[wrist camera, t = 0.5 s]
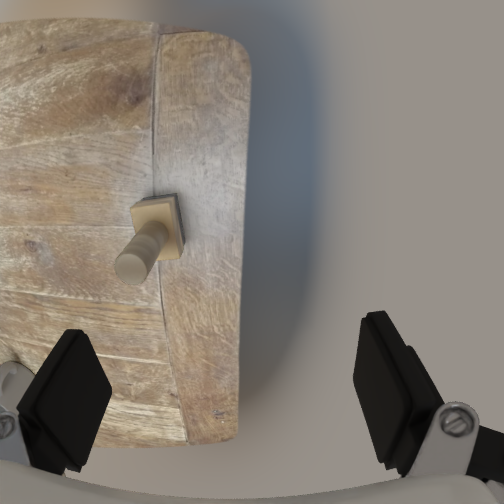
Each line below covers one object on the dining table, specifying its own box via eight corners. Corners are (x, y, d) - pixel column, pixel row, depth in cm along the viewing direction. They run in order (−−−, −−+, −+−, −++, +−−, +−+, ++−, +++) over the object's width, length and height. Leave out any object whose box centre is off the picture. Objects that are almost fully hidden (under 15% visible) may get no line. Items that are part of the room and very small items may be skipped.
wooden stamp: (141, 197, 28) (97, 237, 19) (177, 192, 28) (146, 231, 19) (152, 246, 30) (117, 303, 21) (186, 243, 30) (163, 300, 21)
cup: (14, 384, 40) (-7, 419, 32) (-2, 342, 36) (-30, 379, 28) (46, 397, 41) (26, 436, 33) (31, 356, 37) (5, 397, 29)
